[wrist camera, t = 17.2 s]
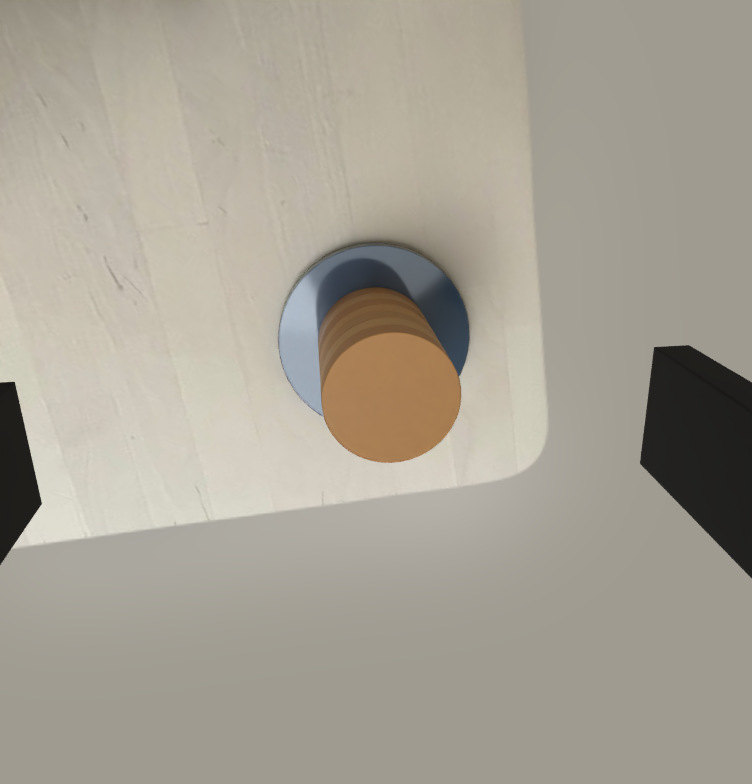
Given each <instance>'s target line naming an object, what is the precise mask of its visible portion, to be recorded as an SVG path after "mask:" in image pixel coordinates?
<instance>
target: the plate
mask: <svg viewBox="0 0 752 784" xmlns="http://www.w3.org/2000/svg"><path fill="white" fill-rule="evenodd" d="M372 287H379V288H387V289H391V290H394V291H397V292H399V293H401V294H403V295H405V296H406V297H408V298H409V299H410V300H411V301H413V302H414V303H415V304H416V305H417V307H418V308H419V309H420V311H421V312H422V314H423V315H424V317H425V318H426V320H427V322H428V323H429V325H430V327H431V328H432V330H433V332H434V333H435V335H436V337H437V338H438V340H439V342H440V343H441V345H442V347H443V348H444V350H445V351H446V353H447V355H448V356H449V358H450V360H451V361H452V363H453V365H454V367H455V369H456V371H457V374H458V377H459V375H460V374H461V371H462V369H463V366H464V364H465V361H466V357H467V352H468V346H469V323H468V317H467V313H466V309H465V306H464V303H463V301H462V299H461V296H460V294H459V292H458V291H457V289H456V287H455V286H454V284H453V283H452V281H451V280H450V279H449V278H448V277H447V276H446V274H445V273H444V272H443V271H442V270H441V269H440V268H439V267H438V266H436V265H435V264H434V263H433V262H432V261H430V260H429V259H427V258H426V257H424V256H423V255H421V254H419V253H417V252H415V251H413V250H411V249H408V248H405V247H402V246H399V245H393V244H388V243H363V244H357V245H352V246H348V247H345V248H342V249H339V250H337V251H334V252H333V253H331V254H329V255H327V256H325V257H323V258H322V259H320V260H319V261H318V262H316V263H315V264H313V265H312V266H311V267H310V268H309V269H308V270H307V271H306V272H305V273H304V274H303V275H302V276H301V277H300V279H299V280H298V281H297V282H296V284H295V285H294V287H293V289H292V290H291V292H290V293H289V296H288V298H287V300H286V302H285V305H284V308H283V311H282V315H281V319H280V326H279V353H280V359H281V362H282V366H283V369H284V372H285V374H286V376H287V379H288V381H289V382H290V384H291V386H292V387H293V389H294V390H295V392H296V393H297V394H298V395H299V397H300V398H301V399H302V400H303V401H304V402H305V403H306V404H307V405H308V406H309V407H310V408H312V409H313V410H314V411H316V412H317V413H318V414H320V415H322V416H323V417H324V415H323V411H322V402H321V385H320V369H319V352H318V336H319V330H320V327H321V324H322V321H323V319H324V317H325V316H326V314H327V312H328V311H329V310H330V308H331V307H332V306H333V305H334V304H335V303H336V302H337V301H338V300H340V299H341V298H343V297H344V296H345V295H347V294H349V293H351V292H354V291H357V290H360V289H364V288H372Z"/></svg>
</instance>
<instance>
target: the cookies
mask: <svg viewBox="0 0 752 784" xmlns="http://www.w3.org/2000/svg"><path fill="white" fill-rule="evenodd" d="M318 352H319V369H320V385H321V402H322V411H323V415H324V419H325V421H326V424H327V426H328V428H329V430H330V432H331V433H332V435H333V436H334V437H335V439H336V440H337V441H338V442H339V443H340V444H341V445H342V446H343V447H344V448H346V449H347V450H349V451H350V452H352V453H353V454H355V455H357V456H359V457H362V458H364V459H367V460H371V461H376V462H388V463H392V462H401V461H405V460H410V459H412V458H415V457H418V456H420V455H422V454H424V453H426V452H427V451H429V450H431V449H432V448H433V447H435V446H436V445H437V444H438V443H439V442H440V441H441V440H442V439H443V438H444V437H445V436H446V435H447V433H448V432H449V431H450V429H451V428H452V426H453V424H454V422H455V420H456V418H457V415H458V412H459V408H460V402H461V386H460V380H459V377H458V374H457V371H456V369H455V367H454V365H453V363H452V361H451V360H450V358H449V356H448V355H447V353H446V351H445V350H444V348H443V347H442V345H441V343H440V342H439V340H438V338H437V337H436V335H435V333H434V332H433V330H432V328H431V327H430V325H429V323H428V322H427V320H426V318H425V317H424V315H423V314H422V312H421V311H420V309H419V308H418V307H417V305H416V304H415V303H414V302H413V301H411V300H410V299H409V298H408V297H406V296H405V295H403V294H401V293H399V292H397V291H394V290H391V289H387V288H379V287H372V288H364V289H360V290H357V291H354V292H351V293H349V294H347V295H345V296H344V297H343V298H341V299H340V300H338V301H337V302H336V303H335V304H334V305H333V306H332V307H331V308H330V310H329V311H328V312H327V314H326V316H325V317H324V319H323V321H322V324H321V327H320V330H319V336H318Z"/></svg>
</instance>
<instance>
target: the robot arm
mask: <svg viewBox="0 0 752 784" xmlns="http://www.w3.org/2000/svg"><path fill="white" fill-rule="evenodd" d="M640 464H641V465H642V466H643V467H644V468H645V469H646V470H647V471H648V472H649V473H650V474H651V475H652V476H653V477H654V478H655V479H656V480H657V481H658V483H660V485H661V486H662V487H663V488H664V489H665V490H666V491H667V492H668V493H669V494H670V495H671V496H672V497H673V498H674V499H675V500H676V501H677V502H678V503H679V504H680V505H681V506H682V507H683V508H684V509H685V510H686V511H687V512H688V513H689V514H690V515H691V516H692V517H693V519H694V520H695V521H696V522H697V523H698V524H699V525H700V526H701V527H702V528H703V529H704V530H705V531H706V532H707V533H708V534H709V535H710V536H711V537H712V538H713V539H714V540H715V541H716V542H717V543H718V544H719V545H720V546H721V547H722V548H723V549H724V550H725V551H726V552H727V553H728V555H730V557H731V558H732V559H733V560H734V561H735V562H736V563H737V564H738V565H739V566H740V567H741V568H742V569H743V570H744V571H745V572H746V573H747V574H748V575H749V576H750V577H751V578H752V382H750V381H748V380H747V379H745V378H743V377H741V376H740V375H738V374H736V373H735V372H733V371H731V370H729V369H728V368H726V367H725V366H723V365H721V364H720V363H717V362H716V361H714V360H713V359H711V358H709V357H708V356H706V355H704V354H703V353H701V352H699V351H697V350H696V349H694V348H692V347H691V346H689V345H686V346H669V347H654V353H653V361H652V369H651V378H650V387H649V394H648V403H647V410H646V420H645V427H644V435H643V444H642V451H641V461H640ZM41 504H42V502H41V498H40V493H39V489H38V484H37V480H36V475H35V471H34V467H33V462H32V458H31V453H30V449H29V444H28V440H27V435H26V431H25V426H24V422H23V417H22V413H21V408H20V404H19V399H18V395H17V390H16V386H15V382H3V383H0V564H1V563H2V561H3V560H4V558H5V557H6V555H7V554H8V553H9V551H10V550H11V548H12V547H13V545H14V544H15V542H16V541H17V539H18V538H19V536H20V535H21V534H22V532H23V531H24V529H25V528H26V526H27V525H28V523H29V522H30V520H31V519H32V517H33V516H34V514H35V513H36V512H37V510H38V509H39V507H40V506H41Z"/></svg>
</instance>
